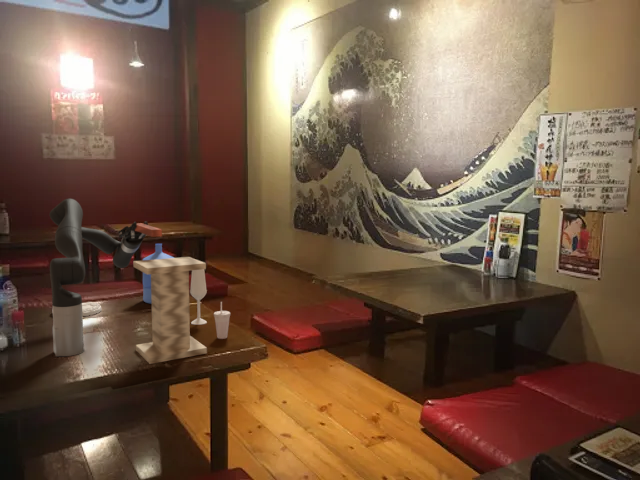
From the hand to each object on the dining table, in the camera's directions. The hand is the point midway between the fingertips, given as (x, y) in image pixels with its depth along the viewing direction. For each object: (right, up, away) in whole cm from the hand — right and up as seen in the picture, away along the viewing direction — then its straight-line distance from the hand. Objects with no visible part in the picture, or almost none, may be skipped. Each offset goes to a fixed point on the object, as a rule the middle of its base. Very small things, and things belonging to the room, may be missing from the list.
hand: (141, 223), depth 209 cm
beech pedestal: (+18, -46, -22) cm, 54 cm away
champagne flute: (+20, -41, +15) cm, 48 cm away
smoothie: (+33, -44, -5) cm, 55 cm away
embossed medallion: (-38, -39, +28) cm, 61 cm away
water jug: (-8, -36, +51) cm, 63 cm away
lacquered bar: (+4, -4, -6) cm, 8 cm away
